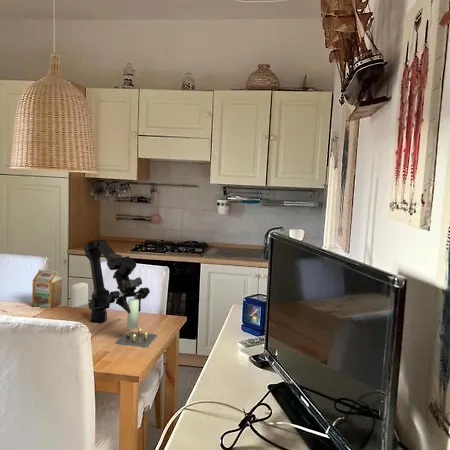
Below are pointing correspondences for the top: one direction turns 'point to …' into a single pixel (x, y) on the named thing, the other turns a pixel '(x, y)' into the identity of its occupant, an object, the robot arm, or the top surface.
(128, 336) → the chassis plate
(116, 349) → the top surface
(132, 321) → the mint green tapered post
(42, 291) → the milk carton
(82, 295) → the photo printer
